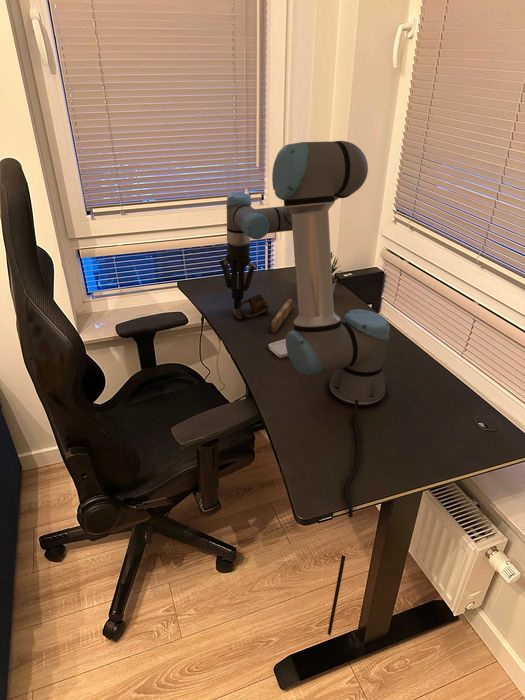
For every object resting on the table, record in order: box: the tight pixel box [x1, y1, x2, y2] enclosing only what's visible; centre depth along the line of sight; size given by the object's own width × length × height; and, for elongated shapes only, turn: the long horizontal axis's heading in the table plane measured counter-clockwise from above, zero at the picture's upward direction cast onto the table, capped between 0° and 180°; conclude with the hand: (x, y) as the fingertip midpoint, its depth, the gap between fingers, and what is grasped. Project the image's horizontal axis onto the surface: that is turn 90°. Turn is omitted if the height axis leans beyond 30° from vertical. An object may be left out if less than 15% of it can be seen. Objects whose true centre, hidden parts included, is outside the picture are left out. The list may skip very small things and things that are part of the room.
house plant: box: [331, 251, 344, 292], centre depth 186 cm, size 14×14×16 cm
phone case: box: [267, 338, 289, 359], centre depth 157 cm, size 7×1×15 cm
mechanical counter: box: [232, 293, 270, 320], centre depth 173 cm, size 7×13×10 cm
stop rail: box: [270, 298, 293, 334], centre depth 171 cm, size 18×1×4 cm, turn 159°
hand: (237, 307), depth 176 cm, fingers closed
